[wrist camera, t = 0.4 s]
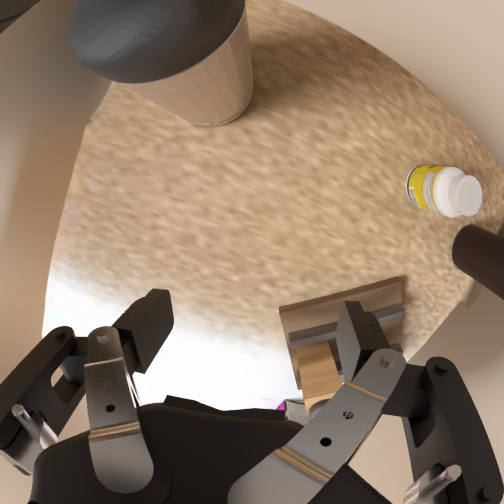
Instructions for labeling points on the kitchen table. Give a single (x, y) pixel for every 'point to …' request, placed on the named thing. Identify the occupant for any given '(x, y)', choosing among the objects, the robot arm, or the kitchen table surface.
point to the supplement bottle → (444, 190)
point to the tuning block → (317, 376)
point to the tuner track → (327, 315)
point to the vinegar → (481, 257)
